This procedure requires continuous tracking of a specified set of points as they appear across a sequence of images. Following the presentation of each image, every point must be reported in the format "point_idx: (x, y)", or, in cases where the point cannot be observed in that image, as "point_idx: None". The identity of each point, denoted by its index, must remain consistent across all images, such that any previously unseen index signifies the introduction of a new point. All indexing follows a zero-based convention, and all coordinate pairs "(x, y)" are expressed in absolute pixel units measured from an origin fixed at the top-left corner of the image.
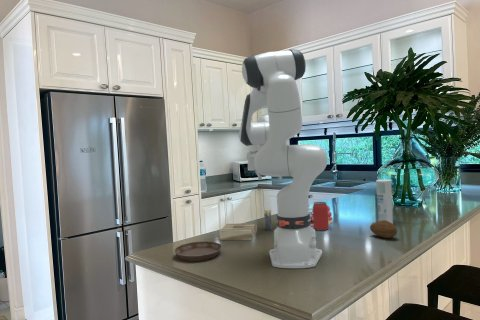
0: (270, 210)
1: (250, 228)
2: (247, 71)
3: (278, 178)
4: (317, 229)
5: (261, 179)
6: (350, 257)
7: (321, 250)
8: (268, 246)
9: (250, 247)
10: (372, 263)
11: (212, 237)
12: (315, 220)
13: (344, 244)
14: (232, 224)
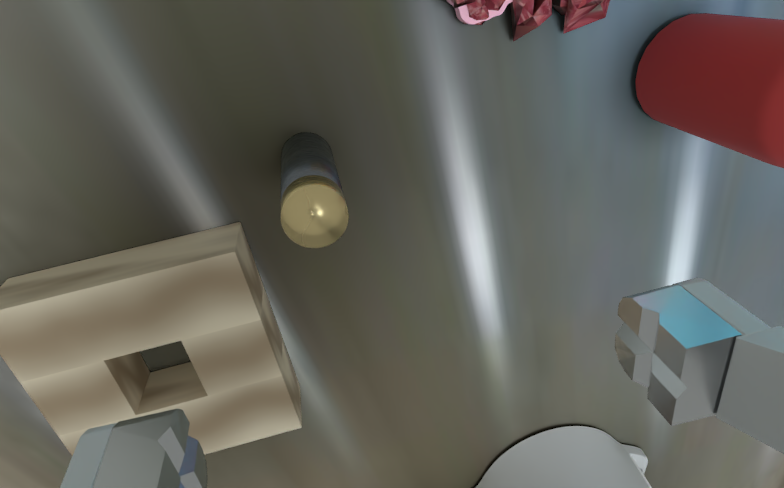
0: (343, 201)
1: (271, 392)
2: None
3: (631, 370)
4: (655, 119)
5: (199, 450)
6: (723, 453)
7: (646, 462)
8: (423, 443)
9: (346, 474)
10: (768, 474)
11: (8, 407)
12: (688, 128)
13: None
14: (52, 331)
